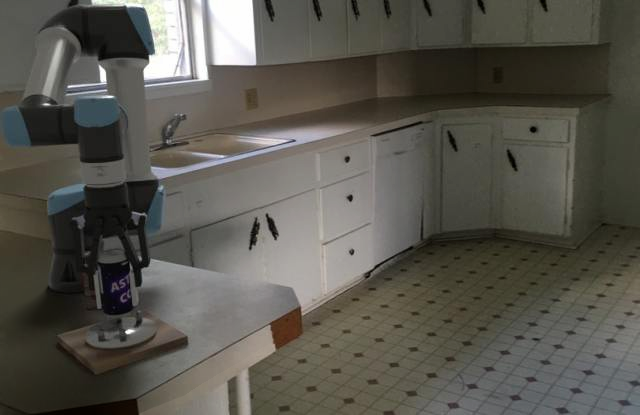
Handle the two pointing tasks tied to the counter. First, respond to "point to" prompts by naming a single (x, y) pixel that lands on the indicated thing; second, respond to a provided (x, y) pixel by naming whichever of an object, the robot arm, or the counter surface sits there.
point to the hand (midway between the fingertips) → (118, 304)
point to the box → (88, 294)
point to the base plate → (110, 360)
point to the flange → (121, 333)
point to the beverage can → (115, 283)
